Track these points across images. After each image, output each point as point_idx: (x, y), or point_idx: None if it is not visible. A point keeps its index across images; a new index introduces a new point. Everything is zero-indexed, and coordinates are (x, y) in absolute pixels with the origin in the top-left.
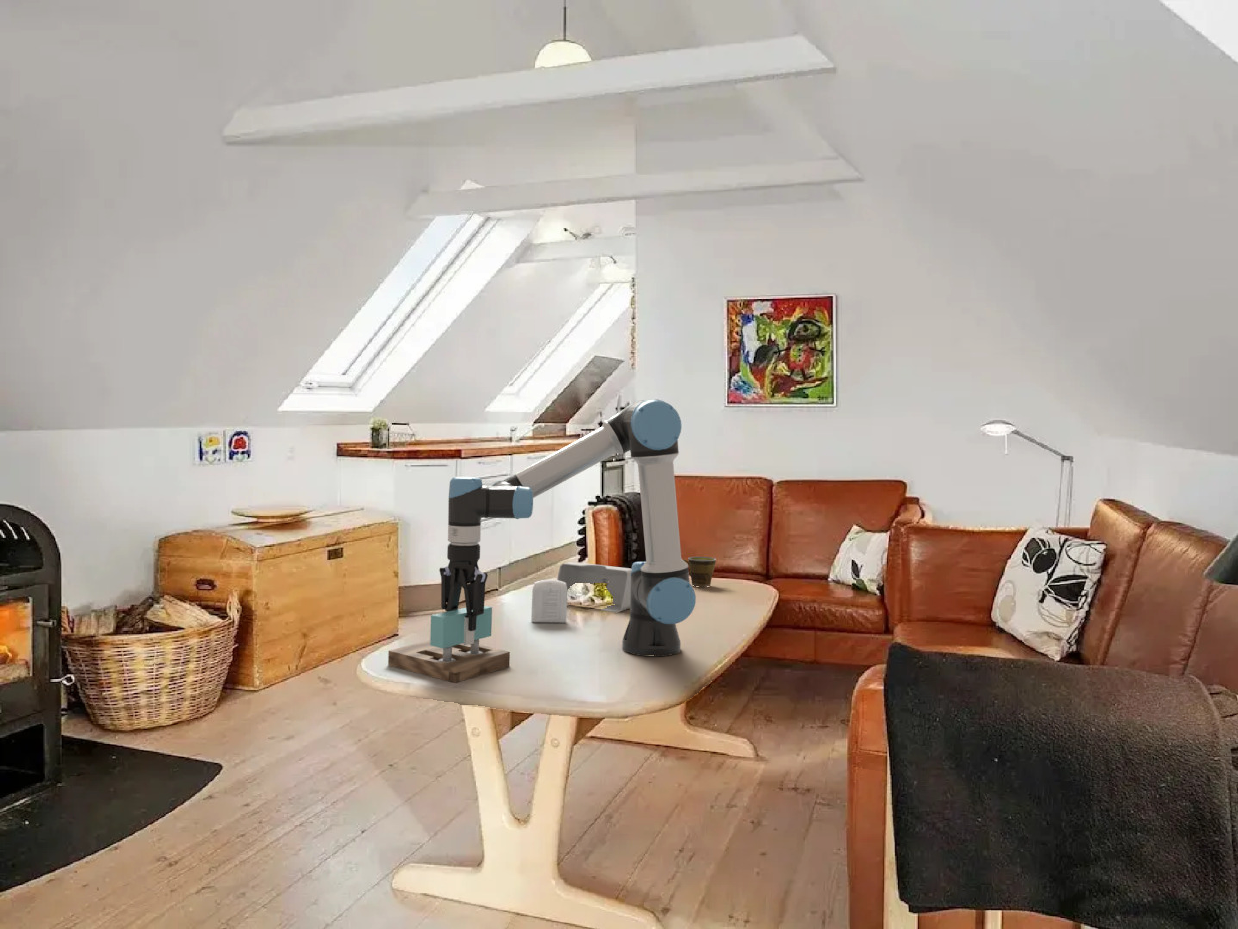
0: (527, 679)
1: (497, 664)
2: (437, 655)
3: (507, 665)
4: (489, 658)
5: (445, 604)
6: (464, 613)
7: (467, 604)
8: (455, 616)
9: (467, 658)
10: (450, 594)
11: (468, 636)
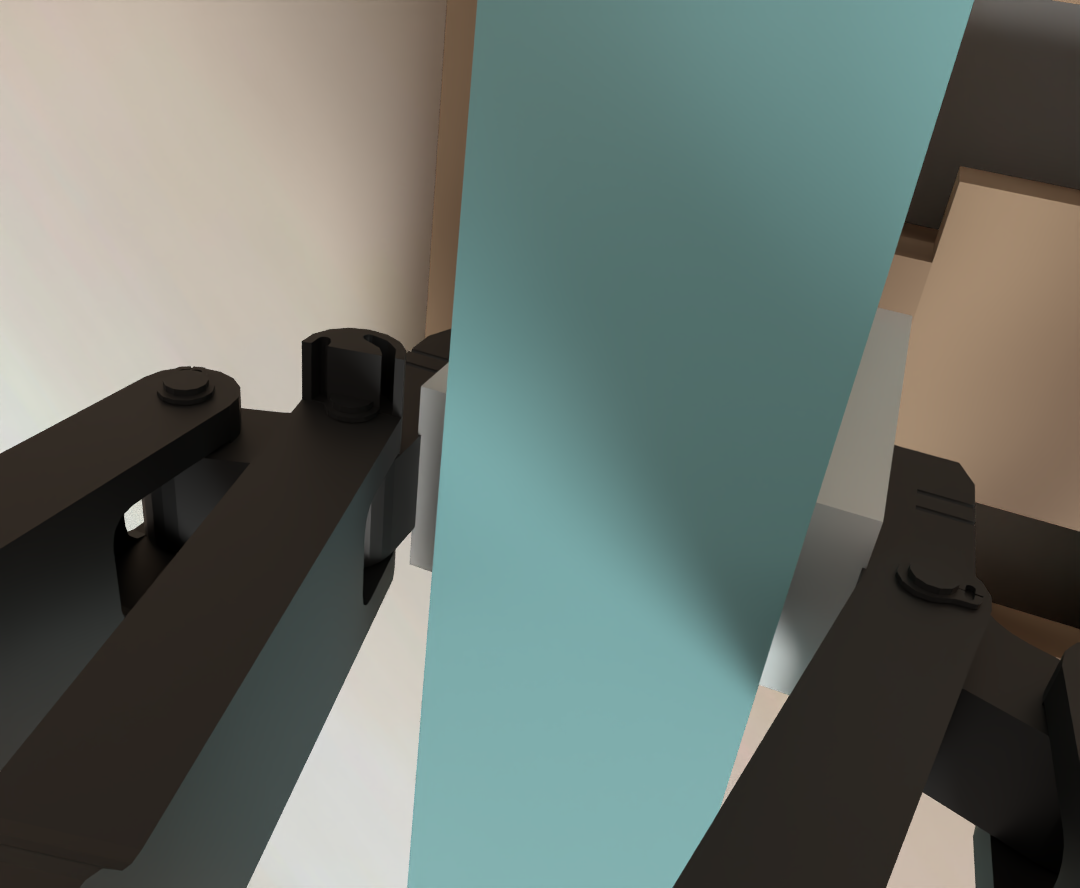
0: (159, 233)
1: None
2: (1069, 195)
3: None
4: (429, 302)
5: (1060, 724)
6: (447, 439)
7: (271, 524)
8: (475, 175)
9: None
10: (835, 883)
11: None
